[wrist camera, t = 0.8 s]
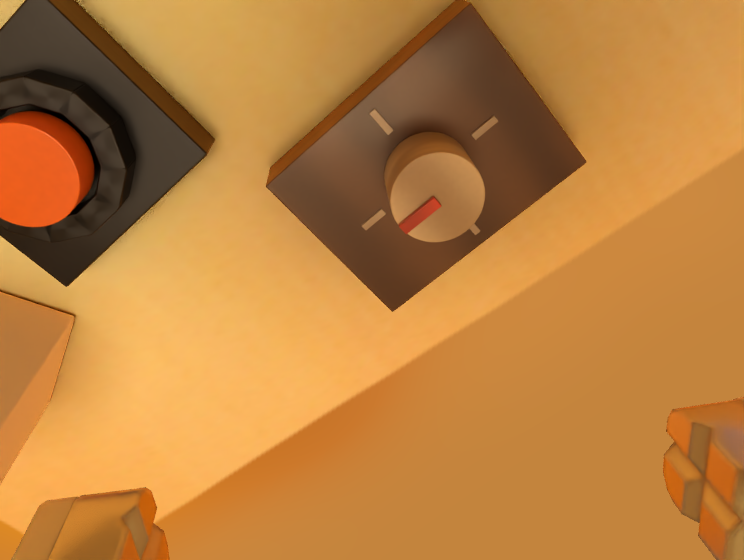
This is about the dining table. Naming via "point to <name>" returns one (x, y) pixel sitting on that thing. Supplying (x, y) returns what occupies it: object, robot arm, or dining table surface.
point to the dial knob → (433, 187)
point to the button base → (93, 128)
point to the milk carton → (27, 369)
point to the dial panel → (413, 116)
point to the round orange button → (41, 169)
